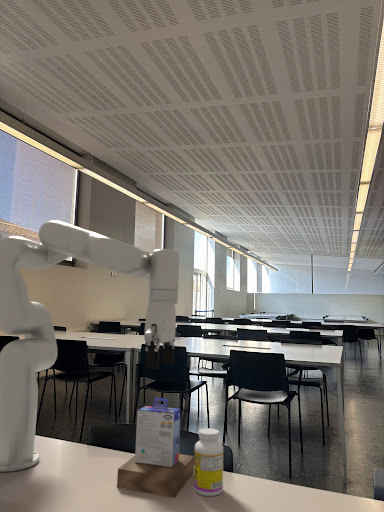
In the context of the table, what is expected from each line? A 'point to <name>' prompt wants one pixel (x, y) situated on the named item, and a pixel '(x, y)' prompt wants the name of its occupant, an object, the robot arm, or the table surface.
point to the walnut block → (156, 476)
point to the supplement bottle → (208, 463)
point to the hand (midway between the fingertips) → (159, 366)
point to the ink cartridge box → (158, 434)
